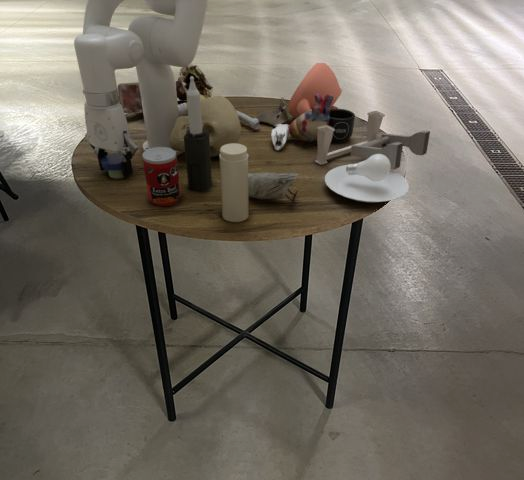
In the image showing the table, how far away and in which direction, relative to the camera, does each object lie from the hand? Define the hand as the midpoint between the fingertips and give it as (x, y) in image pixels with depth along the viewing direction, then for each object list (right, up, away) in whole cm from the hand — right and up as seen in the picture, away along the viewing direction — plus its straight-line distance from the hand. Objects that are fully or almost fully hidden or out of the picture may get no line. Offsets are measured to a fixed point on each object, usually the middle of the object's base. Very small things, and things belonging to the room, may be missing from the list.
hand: (116, 171), depth 124 cm
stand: (0, 0, +1) cm, 1 cm away
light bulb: (+10, +30, +30) cm, 44 cm away
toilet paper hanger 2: (+73, +12, +6) cm, 74 cm away
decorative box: (-2, +35, +33) cm, 48 cm away
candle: (+22, -5, -3) cm, 23 cm away
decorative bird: (+38, -10, -7) cm, 40 cm away
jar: (+32, -15, -13) cm, 37 cm away
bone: (+32, +28, +28) cm, 51 cm away
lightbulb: (+59, -1, -3) cm, 59 cm away
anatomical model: (+50, +16, +19) cm, 56 cm away
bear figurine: (+17, +43, +36) cm, 58 cm away
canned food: (+14, -10, -8) cm, 19 cm away
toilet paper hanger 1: (+61, +14, +10) cm, 63 cm away
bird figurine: (+42, +14, +11) cm, 45 cm away
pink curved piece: (+50, +36, +24) cm, 66 cm away
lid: (0, +2, -2) cm, 3 cm away
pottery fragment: (+38, +26, +32) cm, 56 cm away
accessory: (+51, +17, +18) cm, 57 cm away
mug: (+60, +18, +21) cm, 66 cm away
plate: (+64, -6, -3) cm, 64 cm away
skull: (+12, +14, +6) cm, 19 cm away
